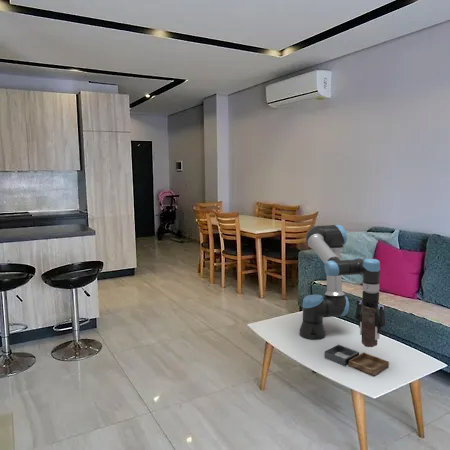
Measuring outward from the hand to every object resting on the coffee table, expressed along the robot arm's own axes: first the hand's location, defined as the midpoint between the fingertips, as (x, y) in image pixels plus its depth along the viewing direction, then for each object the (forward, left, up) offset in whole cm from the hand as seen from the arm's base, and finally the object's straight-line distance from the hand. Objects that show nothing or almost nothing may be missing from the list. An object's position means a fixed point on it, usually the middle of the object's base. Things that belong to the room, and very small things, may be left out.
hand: (369, 336), depth 195 cm
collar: (-14, -2, -16) cm, 21 cm away
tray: (0, 0, -16) cm, 16 cm away
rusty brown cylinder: (0, 0, -4) cm, 4 cm away
